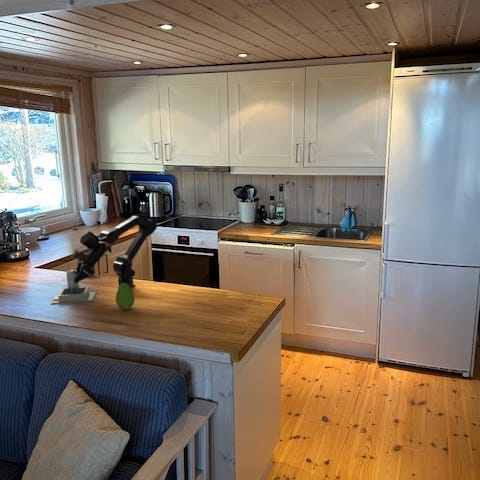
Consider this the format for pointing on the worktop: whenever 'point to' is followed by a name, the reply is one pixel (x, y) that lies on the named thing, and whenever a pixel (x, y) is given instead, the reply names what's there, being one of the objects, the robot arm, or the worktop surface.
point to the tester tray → (74, 296)
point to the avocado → (125, 296)
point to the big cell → (72, 282)
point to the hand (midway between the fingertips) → (74, 279)
